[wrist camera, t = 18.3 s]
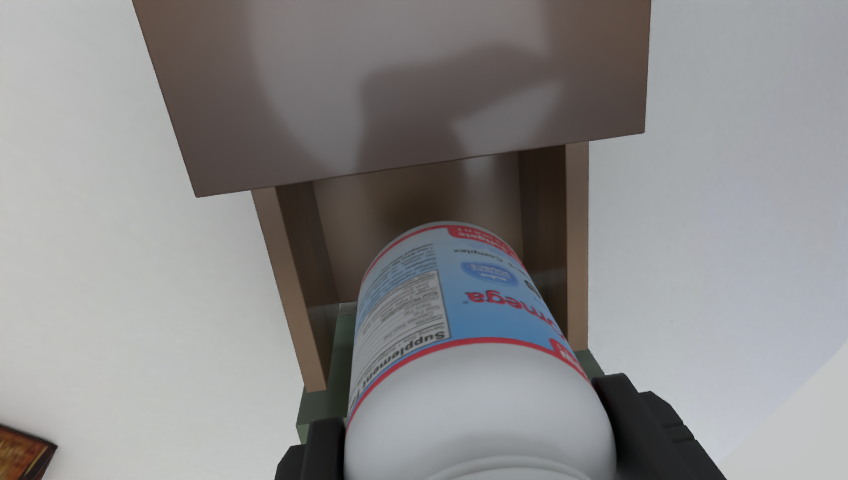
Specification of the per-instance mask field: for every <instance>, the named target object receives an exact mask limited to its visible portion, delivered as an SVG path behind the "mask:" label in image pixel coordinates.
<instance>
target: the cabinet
mask: <svg viewBox="0 0 848 480" xmlns="http://www.w3.org/2000/svg"><path fill="white" fill-rule="evenodd" d="M132 2H133V5H134V8H135V12H136V15H137V18H138V21H139V24H140V27H141V30H142V33H143V36H144V39H145V42H146V45H147V49H148V52H149V55H150V58H151V61H152V64H153V67H154V70H155V73H156V76H157V79H158V83H159V86H160V89H161V92H162V95H163V98H164V101H165V104H166V107H167V110H168V113H169V116H170V120H171V123H172V126H173V129H174V132H175V135H176V138H177V141H178V144H179V147H180V150H181V153H182V157H183V160H184V163H185V166H186V169H187V172H188V175H189V178H190V181H191V184H192V187H193V190H194V194H195V196H196V197H197V198H199V197H206V196H213V195H220V194H227V193H234V192H241V191H248V190H255V189H262V188H269V187H275V186H282V185H289V184H296V183H303V182H310V181H317V180H324V179H331V178H338V177H345V176H352V175H358V174H365V173H372V172H379V171H386V170H393V169H400V168H407V167H414V166H421V165H428V164H434V163H441V162H448V161H455V160H462V159H469V158H476V157H483V156H490V155H497V154H504V153H510V152H517V151H524V150H531V149H538V148H545V147H552V146H559V145H566V144H573V143H580V142H587V141H593V140H600V139H607V138H614V137H621V136H628V135H635V134H642V133H644V132H645V114H646V94H647V74H648V54H649V33H650V13H651V0H132Z"/></svg>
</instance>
